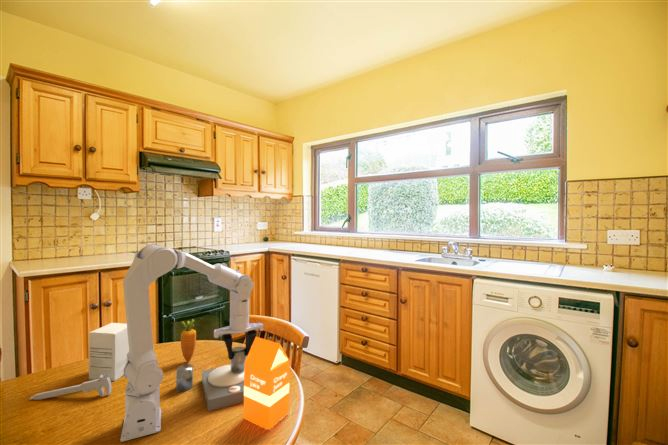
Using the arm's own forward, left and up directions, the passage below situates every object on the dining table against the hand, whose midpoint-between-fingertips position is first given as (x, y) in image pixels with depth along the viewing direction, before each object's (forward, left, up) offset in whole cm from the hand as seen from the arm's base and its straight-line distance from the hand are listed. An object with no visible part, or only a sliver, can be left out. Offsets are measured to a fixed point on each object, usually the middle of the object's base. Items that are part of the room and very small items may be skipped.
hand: (238, 356), depth 96 cm
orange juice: (-19, -3, -9) cm, 21 cm away
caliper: (+13, +43, -9) cm, 46 cm away
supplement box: (+24, +35, -9) cm, 43 cm away
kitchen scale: (-2, +3, -8) cm, 9 cm away
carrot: (+22, +13, -9) cm, 27 cm away
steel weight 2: (+1, 0, -4) cm, 4 cm away
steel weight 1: (+5, +15, -8) cm, 18 cm away
